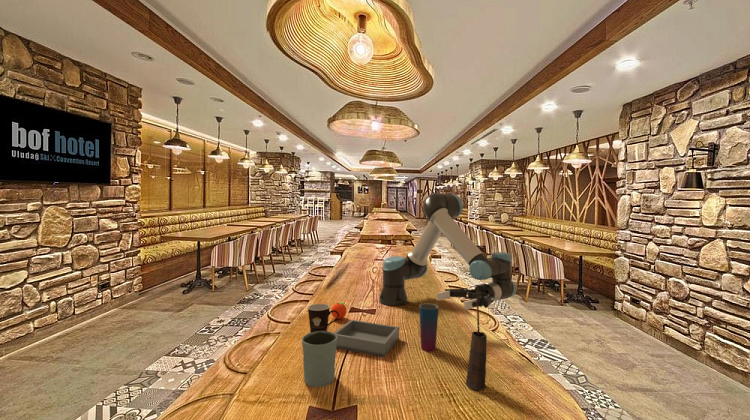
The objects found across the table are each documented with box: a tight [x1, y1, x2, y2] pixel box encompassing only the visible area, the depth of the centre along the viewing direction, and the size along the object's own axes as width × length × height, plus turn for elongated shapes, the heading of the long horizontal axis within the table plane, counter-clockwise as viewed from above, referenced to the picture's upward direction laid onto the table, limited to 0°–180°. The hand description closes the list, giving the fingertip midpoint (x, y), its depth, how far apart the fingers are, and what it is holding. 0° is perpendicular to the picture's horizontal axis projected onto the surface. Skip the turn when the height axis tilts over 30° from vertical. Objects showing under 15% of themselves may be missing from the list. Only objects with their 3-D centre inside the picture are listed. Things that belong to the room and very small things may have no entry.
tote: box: [333, 319, 400, 358], centre depth 115 cm, size 16×20×4 cm
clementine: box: [330, 302, 349, 320], centre depth 140 cm, size 8×7×7 cm
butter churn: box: [465, 284, 488, 391], centre depth 86 cm, size 9×10×28 cm
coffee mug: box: [307, 303, 339, 333], centre depth 123 cm, size 12×9×10 cm
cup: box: [418, 302, 440, 352], centre depth 111 cm, size 7×7×15 cm
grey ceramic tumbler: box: [301, 330, 337, 388], centre depth 90 cm, size 10×10×12 cm
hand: (450, 300), depth 115 cm, fingers open, 13 cm apart
